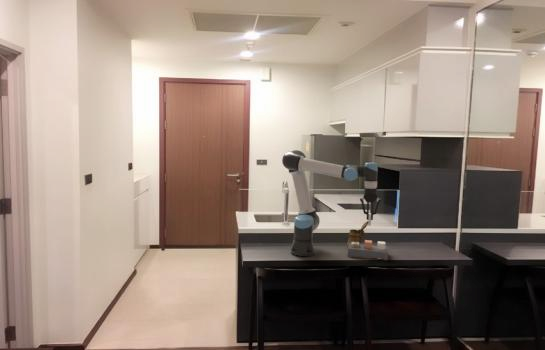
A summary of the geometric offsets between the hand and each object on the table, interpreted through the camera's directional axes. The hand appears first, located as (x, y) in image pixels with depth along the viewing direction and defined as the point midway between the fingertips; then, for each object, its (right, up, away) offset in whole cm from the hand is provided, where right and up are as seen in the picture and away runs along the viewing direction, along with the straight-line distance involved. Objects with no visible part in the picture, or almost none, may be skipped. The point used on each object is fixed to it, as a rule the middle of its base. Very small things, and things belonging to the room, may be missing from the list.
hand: (369, 225), depth 251 cm
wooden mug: (-4, -17, +19) cm, 26 cm away
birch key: (-8, -17, +4) cm, 19 cm away
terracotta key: (0, -15, +2) cm, 15 cm away
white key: (+7, -16, 0) cm, 17 cm away
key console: (-1, -19, +3) cm, 20 cm away
